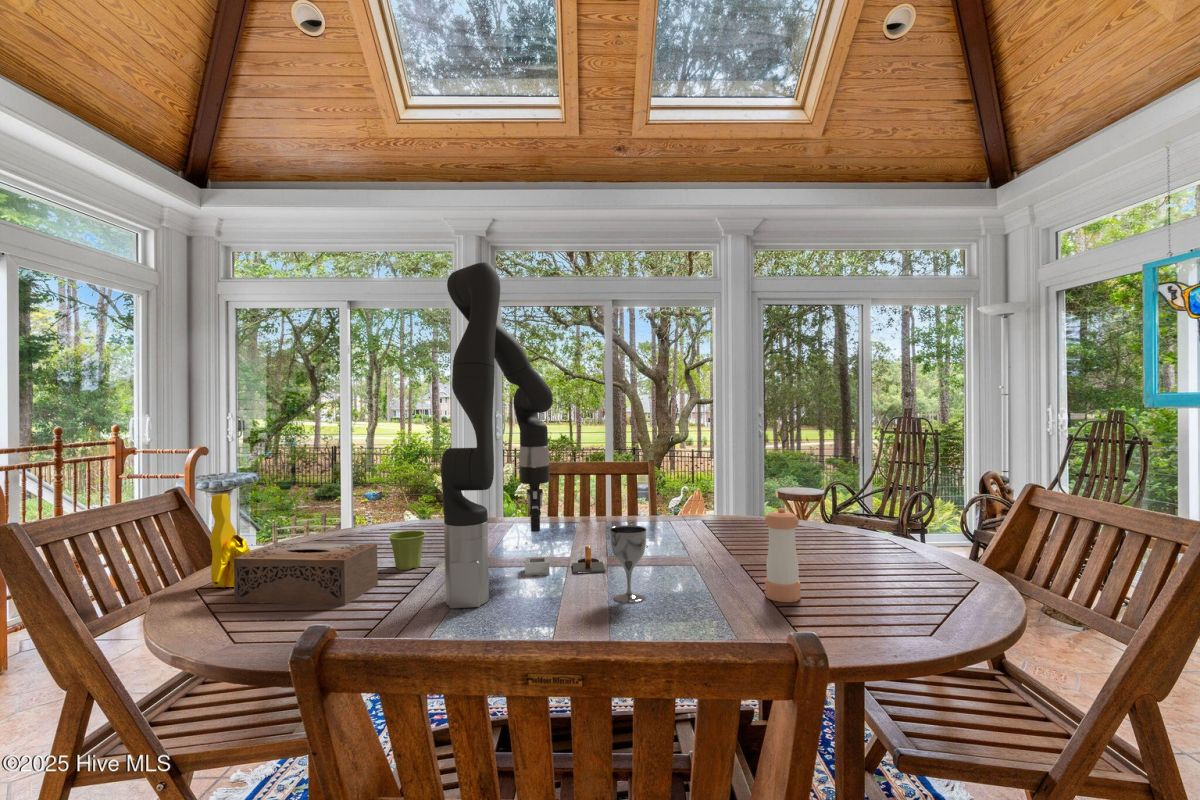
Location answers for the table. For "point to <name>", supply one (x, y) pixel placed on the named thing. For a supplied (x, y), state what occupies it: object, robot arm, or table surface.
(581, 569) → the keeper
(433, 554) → the table surface
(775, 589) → the pepper shaker
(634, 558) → the wine glass
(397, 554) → the plant pot
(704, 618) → the table surface
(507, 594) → the table surface
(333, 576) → the tissue box cover
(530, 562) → the grey square block
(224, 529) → the figure statuette
